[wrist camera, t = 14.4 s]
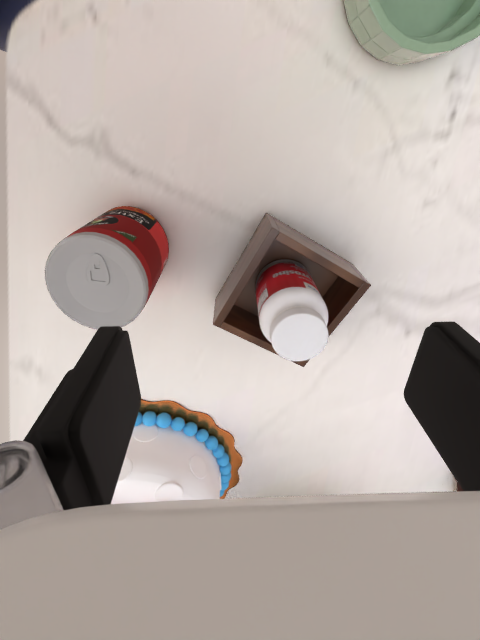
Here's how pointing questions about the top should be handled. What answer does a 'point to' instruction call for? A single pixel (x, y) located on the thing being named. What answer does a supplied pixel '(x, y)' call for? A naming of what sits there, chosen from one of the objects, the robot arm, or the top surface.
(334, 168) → the top surface
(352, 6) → the bowl
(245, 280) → the holder
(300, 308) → the pill bottle
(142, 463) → the wedding cake
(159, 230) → the canned food
